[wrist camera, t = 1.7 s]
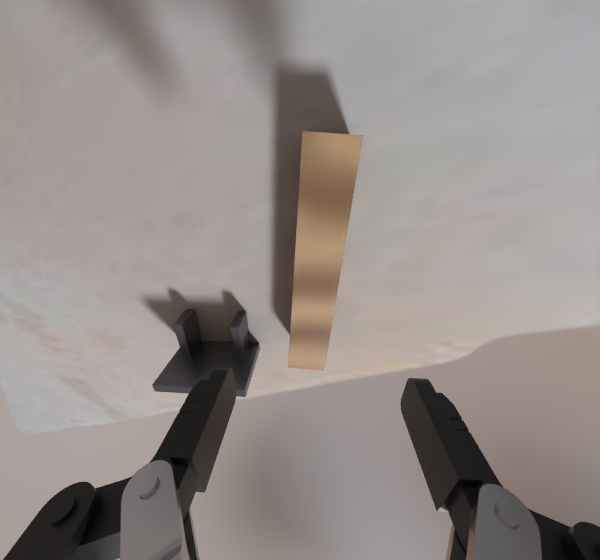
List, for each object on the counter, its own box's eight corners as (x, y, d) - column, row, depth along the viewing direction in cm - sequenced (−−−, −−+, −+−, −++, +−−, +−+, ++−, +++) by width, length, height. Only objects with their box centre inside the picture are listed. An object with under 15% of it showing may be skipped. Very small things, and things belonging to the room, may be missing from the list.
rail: (305, 139, 19) (302, 130, 15) (351, 142, 19) (362, 135, 15) (292, 336, 29) (288, 367, 25) (322, 339, 29) (324, 370, 25)
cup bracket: (176, 308, 28) (137, 349, 22) (256, 312, 27) (239, 355, 21) (187, 345, 31) (154, 391, 24) (259, 349, 30) (245, 396, 24)
